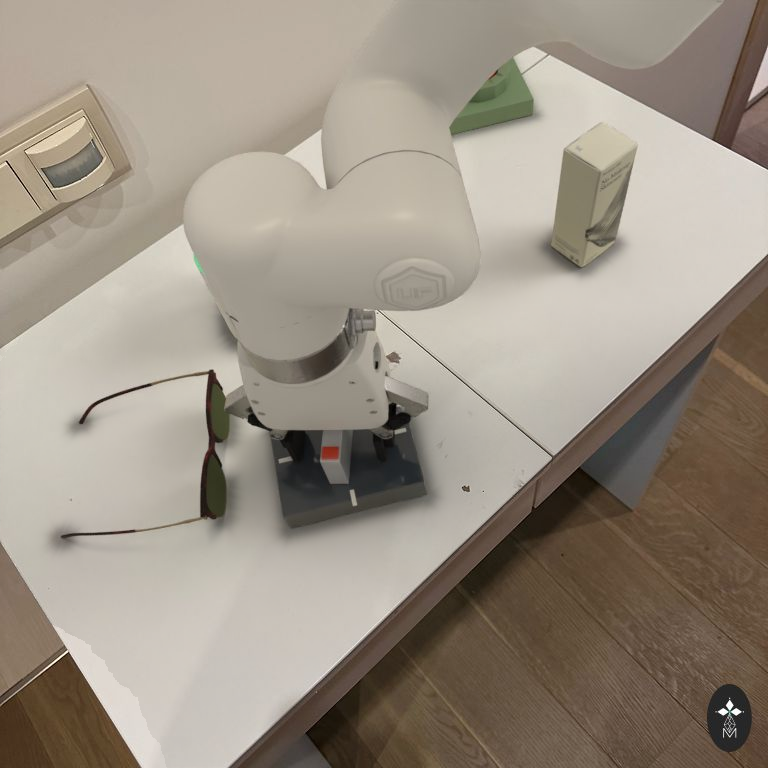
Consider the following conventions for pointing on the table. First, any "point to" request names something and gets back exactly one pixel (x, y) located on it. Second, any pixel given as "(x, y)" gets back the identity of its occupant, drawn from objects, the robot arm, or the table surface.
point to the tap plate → (366, 479)
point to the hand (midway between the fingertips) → (341, 444)
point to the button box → (496, 101)
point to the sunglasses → (212, 473)
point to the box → (592, 192)
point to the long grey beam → (336, 455)
